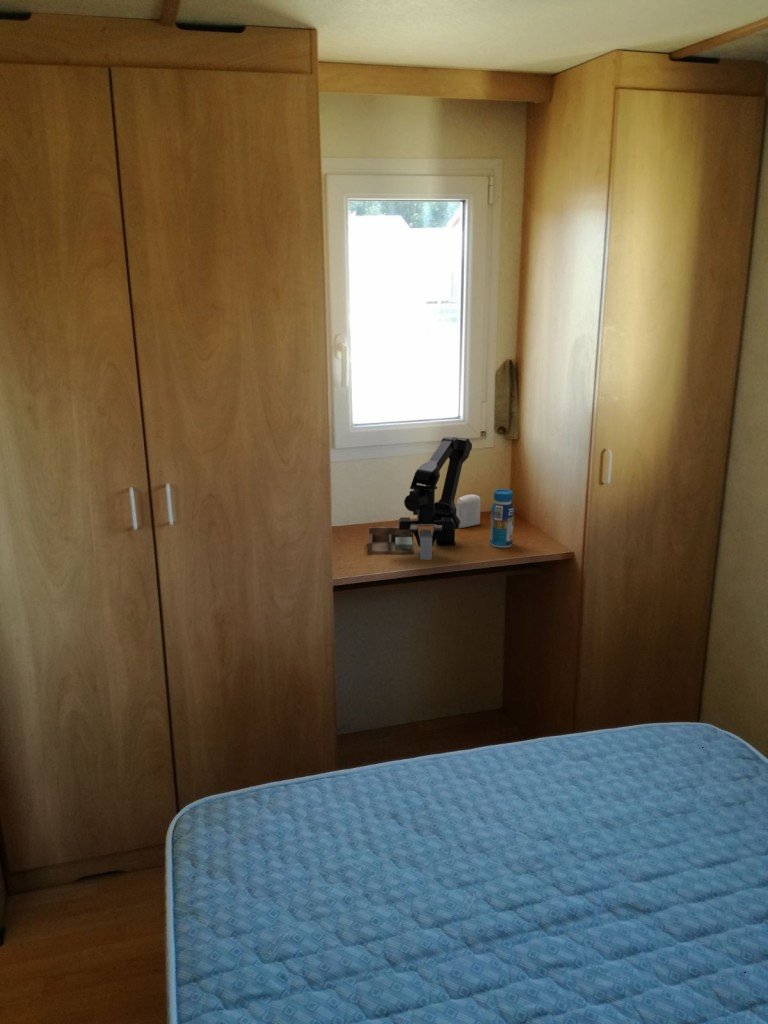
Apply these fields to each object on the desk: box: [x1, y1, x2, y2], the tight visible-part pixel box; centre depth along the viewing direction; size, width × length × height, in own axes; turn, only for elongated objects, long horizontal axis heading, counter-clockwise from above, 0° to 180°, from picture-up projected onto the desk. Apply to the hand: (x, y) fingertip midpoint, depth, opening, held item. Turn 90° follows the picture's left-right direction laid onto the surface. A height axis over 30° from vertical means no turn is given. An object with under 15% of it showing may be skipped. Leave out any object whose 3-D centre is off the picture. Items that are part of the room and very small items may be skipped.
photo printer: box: [455, 494, 482, 529], centre depth 305 cm, size 10×4×12 cm, turn 123°
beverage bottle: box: [489, 488, 515, 549], centre depth 283 cm, size 8×8×20 cm
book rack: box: [368, 526, 415, 555], centre depth 281 cm, size 16×12×6 cm
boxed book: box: [418, 528, 433, 561], centre depth 274 cm, size 4×9×8 cm, turn 0°
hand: (425, 546), depth 274 cm, fingers closed on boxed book, 4 cm apart
